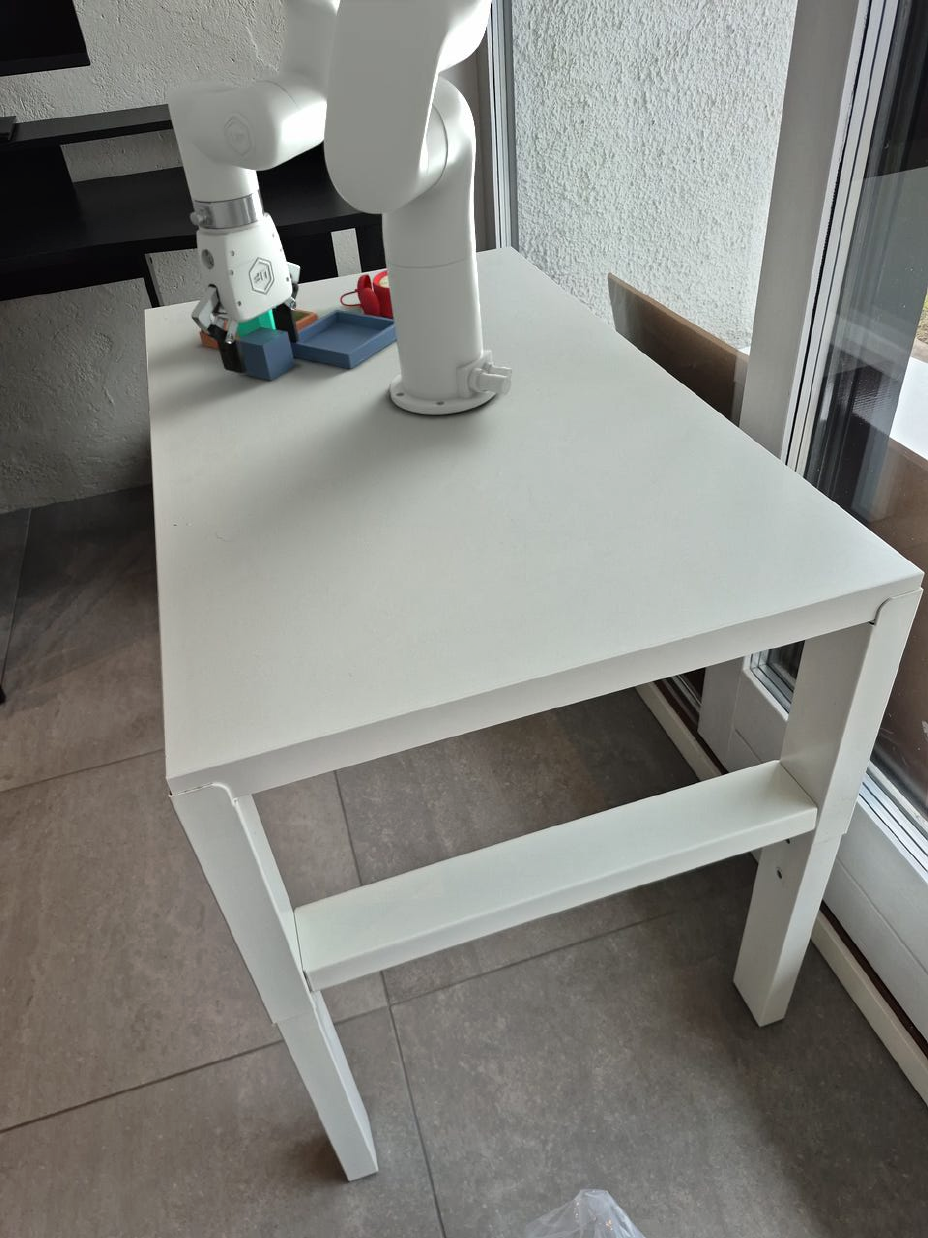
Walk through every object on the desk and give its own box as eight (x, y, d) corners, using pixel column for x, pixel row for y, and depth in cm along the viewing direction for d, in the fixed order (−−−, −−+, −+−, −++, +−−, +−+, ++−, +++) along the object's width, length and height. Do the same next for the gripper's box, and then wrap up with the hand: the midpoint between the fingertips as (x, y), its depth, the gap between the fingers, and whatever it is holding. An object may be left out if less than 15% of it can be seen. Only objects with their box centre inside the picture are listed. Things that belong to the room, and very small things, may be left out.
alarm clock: (458, 284, 120) (345, 276, 117) (452, 330, 124) (343, 323, 121) (444, 260, 128) (338, 251, 125) (439, 304, 132) (336, 297, 128)
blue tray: (404, 334, 118) (402, 320, 117) (351, 369, 111) (348, 354, 110) (338, 322, 123) (336, 309, 122) (284, 354, 117) (280, 340, 115)
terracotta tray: (319, 326, 123) (316, 312, 122) (263, 358, 116) (259, 344, 115) (259, 315, 128) (256, 301, 127) (202, 345, 121) (198, 331, 120)
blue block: (295, 366, 114) (287, 331, 111) (270, 380, 111) (262, 345, 108) (269, 360, 116) (260, 326, 113) (244, 374, 113) (235, 340, 110)
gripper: (196, 237, 94) (235, 389, 105) (305, 191, 105) (330, 334, 116) (148, 229, 98) (191, 378, 109) (258, 186, 108) (287, 325, 119)
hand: (262, 355), depth 112 cm, fingers open, 9 cm apart
